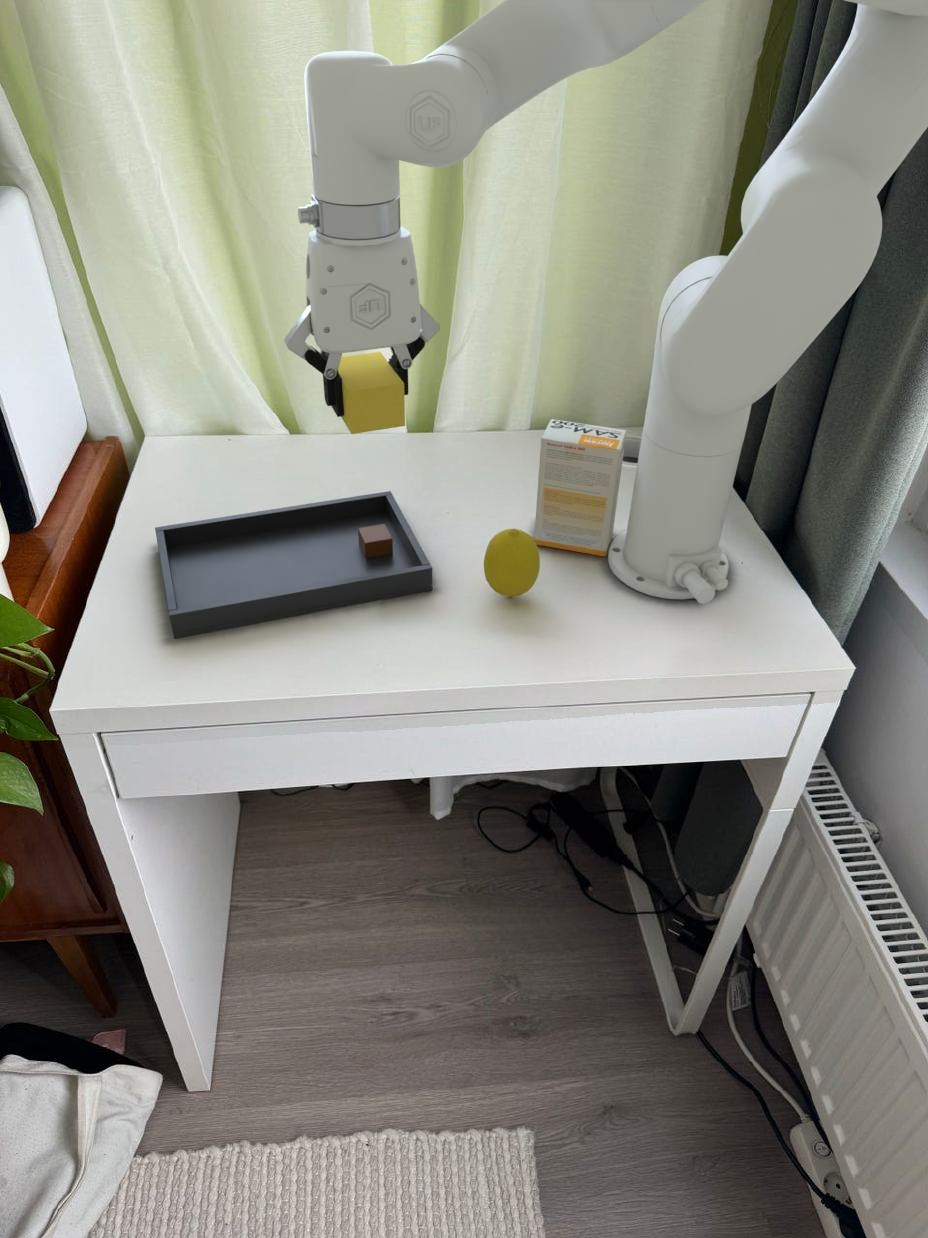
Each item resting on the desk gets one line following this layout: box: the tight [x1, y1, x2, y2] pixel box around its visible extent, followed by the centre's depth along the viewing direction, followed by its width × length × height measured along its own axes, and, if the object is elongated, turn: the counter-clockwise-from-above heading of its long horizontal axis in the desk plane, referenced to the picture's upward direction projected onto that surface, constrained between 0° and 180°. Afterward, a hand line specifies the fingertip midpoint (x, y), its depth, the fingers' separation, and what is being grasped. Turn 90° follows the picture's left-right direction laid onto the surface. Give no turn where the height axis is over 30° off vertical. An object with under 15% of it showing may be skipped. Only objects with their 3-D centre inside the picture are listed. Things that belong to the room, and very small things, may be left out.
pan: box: [154, 490, 433, 639], centre depth 96 cm, size 16×26×3 cm, turn 109°
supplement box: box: [533, 418, 627, 558], centre depth 98 cm, size 8×5×13 cm, turn 73°
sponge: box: [338, 351, 406, 435], centre depth 92 cm, size 8×6×4 cm
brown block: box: [358, 524, 393, 558], centre depth 98 cm, size 3×3×2 cm
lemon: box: [483, 528, 541, 598], centre depth 92 cm, size 6×6×8 cm
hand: (367, 404), depth 93 cm, fingers closed on sponge, 5 cm apart
